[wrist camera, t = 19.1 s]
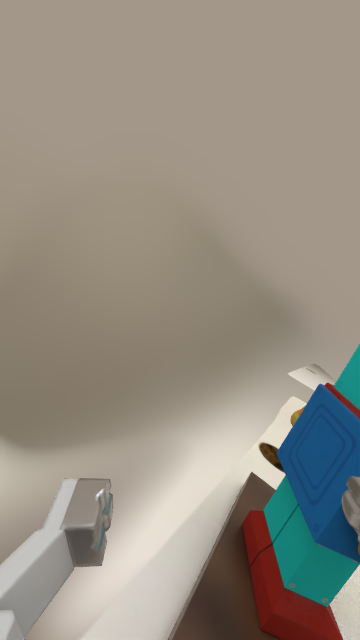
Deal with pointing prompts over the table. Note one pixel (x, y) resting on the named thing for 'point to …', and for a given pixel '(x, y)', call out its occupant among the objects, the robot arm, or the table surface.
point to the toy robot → (309, 517)
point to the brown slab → (227, 580)
